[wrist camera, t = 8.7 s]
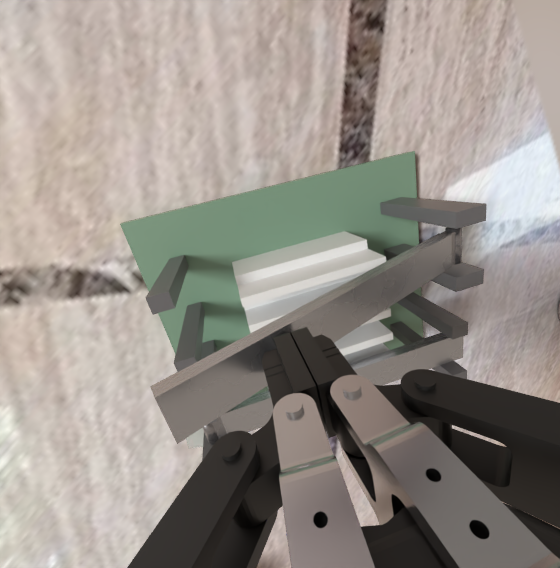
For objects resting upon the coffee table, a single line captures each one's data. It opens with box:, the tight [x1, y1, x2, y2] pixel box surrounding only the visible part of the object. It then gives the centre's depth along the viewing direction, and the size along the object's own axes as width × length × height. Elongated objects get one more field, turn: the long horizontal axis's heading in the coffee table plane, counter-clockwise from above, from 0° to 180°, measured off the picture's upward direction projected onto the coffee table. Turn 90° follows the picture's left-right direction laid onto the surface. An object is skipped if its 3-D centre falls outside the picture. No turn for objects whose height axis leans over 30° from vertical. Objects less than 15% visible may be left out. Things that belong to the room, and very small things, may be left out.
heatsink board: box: [120, 151, 486, 461], centre depth 23 cm, size 24×20×10 cm
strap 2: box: [203, 333, 463, 445], centre depth 21 cm, size 20×2×1 cm, turn 102°
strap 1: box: [151, 227, 462, 444], centre depth 15 cm, size 20×2×1 cm, turn 102°
